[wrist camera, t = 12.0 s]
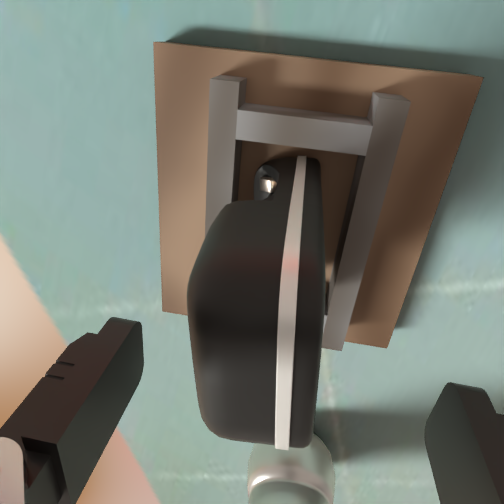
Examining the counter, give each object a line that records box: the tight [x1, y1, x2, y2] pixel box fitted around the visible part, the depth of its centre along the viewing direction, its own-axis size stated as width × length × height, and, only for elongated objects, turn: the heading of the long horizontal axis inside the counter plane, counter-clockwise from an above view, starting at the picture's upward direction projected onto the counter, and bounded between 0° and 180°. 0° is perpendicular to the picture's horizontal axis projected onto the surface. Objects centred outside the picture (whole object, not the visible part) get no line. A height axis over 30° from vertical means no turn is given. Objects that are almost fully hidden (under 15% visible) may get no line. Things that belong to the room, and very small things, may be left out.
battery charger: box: [187, 156, 326, 450], centre depth 15 cm, size 7×4×11 cm, turn 1°
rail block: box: [153, 42, 483, 351], centre depth 20 cm, size 14×15×4 cm
